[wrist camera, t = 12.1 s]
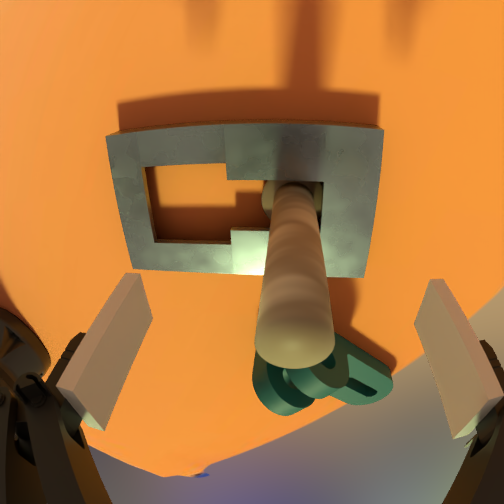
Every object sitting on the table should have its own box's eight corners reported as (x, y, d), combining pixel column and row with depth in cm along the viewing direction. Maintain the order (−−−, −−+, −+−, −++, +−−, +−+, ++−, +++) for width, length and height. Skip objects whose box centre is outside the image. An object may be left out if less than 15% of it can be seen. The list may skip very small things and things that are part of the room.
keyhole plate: (142, 255, 28) (133, 268, 27) (119, 130, 22) (105, 136, 20) (359, 263, 26) (363, 277, 24) (375, 125, 20) (384, 129, 18)
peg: (263, 223, 25) (235, 377, 13) (261, 166, 23) (225, 291, 10) (322, 224, 25) (346, 381, 12) (325, 167, 22) (370, 296, 10)
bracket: (256, 341, 33) (248, 401, 26) (299, 307, 30) (299, 371, 23) (360, 396, 37) (365, 445, 31) (399, 372, 34) (411, 424, 27)
